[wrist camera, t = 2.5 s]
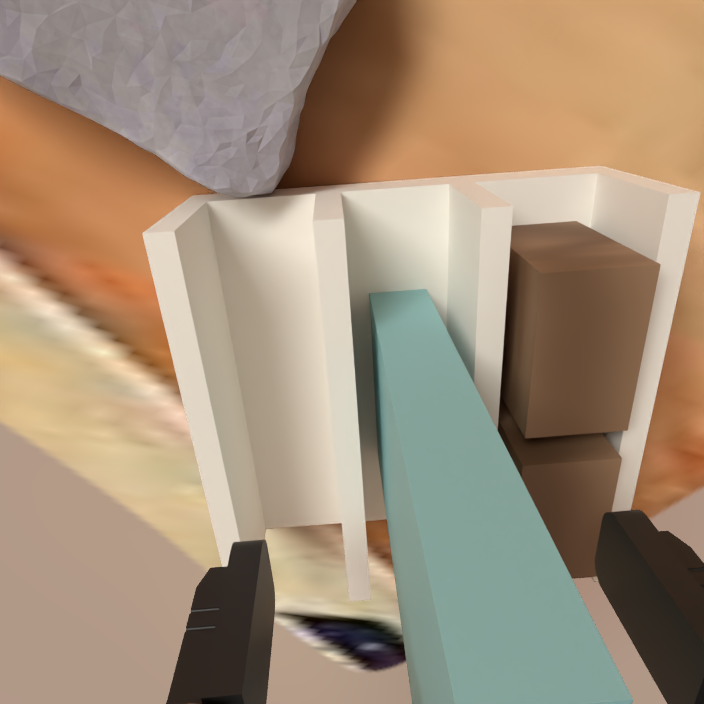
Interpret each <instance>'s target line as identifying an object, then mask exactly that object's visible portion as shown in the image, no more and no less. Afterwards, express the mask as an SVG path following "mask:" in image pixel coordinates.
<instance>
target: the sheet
mask: <svg viewBox="0 0 704 704" xmlns="http://www.w3.org/2000/svg"><path fill="white" fill-rule="evenodd" d="M369 297H370V316H371V335H372V354H373V373H374V392H375V411H376V430H377V449H378V460H379V467H380V474H381V482H382V489H383V496H384V503H385V510H386V518H387V525H388V532H389V539H390V546H391V553H392V561H393V568H394V575H395V582H396V589H397V597H398V604H399V611H400V618H401V625H402V633H403V640H404V647H405V654H406V661H407V668H408V676H409V683H410V689H411V697H412V704H632V702H633V699H632V697H631V695H630V693H629V691H628V689H627V687H626V685H625V683H624V681H623V679H622V677H621V675H620V673H619V671H618V669H617V667H616V665H615V663H614V661H613V659H612V657H611V655H610V653H609V651H608V649H607V647H606V645H605V643H604V641H603V639H602V637H601V635H600V633H599V631H598V629H597V627H596V625H595V623H594V621H593V619H592V617H591V616H590V613H589V611H588V610H587V607H586V605H585V603H584V601H583V599H582V597H581V596H580V593H579V591H578V590H577V588H576V585H575V584H574V582H573V580H572V578H571V576H570V574H569V572H568V570H567V568H566V566H565V564H564V562H563V560H562V558H561V556H560V554H559V552H558V550H557V548H556V546H555V544H554V542H553V540H552V538H551V536H550V534H549V532H548V530H547V528H546V526H545V524H544V522H543V520H542V518H541V516H540V514H539V512H538V510H537V508H536V506H535V504H534V502H533V500H532V498H531V496H530V494H529V492H528V490H527V488H526V486H525V484H524V482H523V480H522V478H521V476H520V474H519V472H518V470H517V468H516V466H515V464H514V462H513V460H512V458H511V456H510V454H509V452H508V450H507V448H506V446H505V444H504V442H503V440H502V439H501V437H500V435H499V433H498V431H497V429H496V427H495V425H494V423H493V421H492V419H491V417H490V415H489V413H488V411H487V409H486V407H485V405H484V403H483V401H482V399H481V397H480V395H479V393H478V391H477V389H476V387H475V385H474V383H473V381H472V379H471V377H470V375H469V373H468V371H467V369H466V367H465V365H464V363H463V361H462V359H461V357H460V355H459V353H458V351H457V349H456V347H455V345H454V343H453V341H452V339H451V337H450V335H449V333H448V331H447V329H446V327H445V325H444V323H443V321H442V319H441V317H440V315H439V313H438V311H437V309H436V307H435V305H434V303H433V301H432V299H431V298H430V296H429V294H428V292H427V290H426V289H419V290H405V291H392V292H379V293H369Z"/></svg>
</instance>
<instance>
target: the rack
mask: <svg viewBox="0 0 704 704" xmlns="http://www.w3.org/2000/svg"><path fill="white" fill-rule="evenodd" d="M699 197H700V192H698V191H694V190H691V189H687V188H683V187H679V186H676V185H672V184H668V183H664V182H661V181H657V180H653V179H649V178H646V177H642V176H638V175H634V174H631V173H627V172H623V171H619V170H615V169H612V168H608V167H604V166H587V167H574V168H560V169H547V170H533V171H519V172H506V173H492V174H478V175H465V176H451V177H437V178H424V179H410V180H396V181H383V182H369V183H356V184H342V185H328V186H315V187H301V188H287V189H274V191H273V192H272V193H267V194H261V195H251V196H247V197H237V198H236V197H232V196H228V195H224V194H220V193H219V194H205V195H192V196H191V197H190V198H188V199H187V200H186V201H184V202H183V203H182V204H180V205H179V206H178V207H176V208H175V209H174V210H172V211H171V212H170V213H168V214H167V215H166V216H165V217H163V218H162V219H161V220H159V221H158V222H157V223H155V224H154V225H153V226H151V227H150V228H149V229H147V230H146V231H145V232H143V233H142V234H143V238H144V243H145V247H146V251H147V255H148V259H149V263H150V268H151V272H152V276H153V280H154V284H155V288H156V293H157V297H158V301H159V305H160V309H161V313H162V318H163V322H164V326H165V330H166V334H167V338H168V342H169V347H170V351H171V355H172V359H173V363H174V367H175V372H176V376H177V380H178V384H179V388H180V392H181V397H182V401H183V405H184V409H185V413H186V417H187V422H188V426H189V430H190V434H191V438H192V442H193V447H194V451H195V455H196V459H197V463H198V467H199V472H200V476H201V480H202V484H203V488H204V492H205V497H206V501H207V505H208V509H209V513H210V517H211V522H212V526H213V530H214V534H215V538H216V542H217V547H218V551H219V555H220V559H221V563H222V567H227V566H228V561H229V556H230V551H231V547H232V544H233V542H241V541H253V540H264V539H265V532H266V529H273V528H285V527H298V526H311V525H323V524H336V523H342V531H343V542H344V552H345V562H346V573H347V583H348V593H349V602H350V601H363V600H371V594H370V580H369V566H368V552H367V538H366V523H365V521H374V520H386V519H387V518H386V510H385V503H384V496H383V489H382V482H381V474H380V467H379V460H378V449H377V430H376V411H375V392H374V373H373V354H372V335H371V316H370V297H369V293H379V292H392V291H405V290H419V289H426V290H427V292H428V294H429V296H430V298H431V299H432V301H433V303H434V305H435V307H436V309H437V311H438V313H439V315H440V317H441V319H442V321H443V323H444V325H445V327H446V329H447V331H448V333H449V335H450V337H451V339H452V341H453V343H454V345H455V347H456V349H457V351H458V353H459V355H460V357H461V359H462V361H463V363H464V365H465V367H466V369H467V371H468V373H469V375H470V377H471V379H472V381H473V383H474V385H475V387H476V389H477V391H478V393H479V395H480V397H481V399H482V401H483V403H484V405H485V407H486V409H487V411H488V413H489V415H490V417H491V419H492V421H493V423H494V425H495V427H496V429H497V431H498V418H499V403H500V389H501V374H502V360H503V345H504V331H505V316H506V301H507V287H508V272H509V258H510V243H511V229H512V226H515V225H529V224H542V223H556V222H569V221H577V222H579V223H581V224H583V225H585V226H587V227H589V228H591V229H593V230H595V231H597V232H599V233H601V234H603V235H605V236H607V237H608V238H610V239H612V240H614V241H616V242H618V243H620V244H622V245H624V246H626V247H628V248H630V249H632V250H634V251H636V252H638V253H640V254H641V255H643V256H645V257H647V258H649V259H651V260H653V261H655V262H657V263H659V264H661V266H660V271H659V276H658V281H657V286H656V291H655V296H654V301H653V306H652V311H651V316H650V321H649V326H648V331H647V336H646V341H645V346H644V351H643V356H642V361H641V366H640V371H639V376H638V381H637V386H636V391H635V396H634V401H633V406H632V411H631V416H630V421H629V426H628V431H615V432H602V434H603V435H604V436H605V438H606V439H607V440H608V441H609V442H610V444H611V445H612V446H613V447H614V449H615V450H616V451H617V452H618V454H619V455H620V456H621V457H622V462H621V467H620V472H619V477H618V482H617V487H616V492H615V497H614V502H613V507H612V512H617V511H629V510H631V507H632V502H633V498H634V493H635V488H636V484H637V479H638V475H639V470H640V466H641V461H642V457H643V452H644V447H645V443H646V438H647V434H648V429H649V425H650V420H651V416H652V411H653V406H654V402H655V397H656V393H657V388H658V384H659V379H660V375H661V370H662V365H663V361H664V356H665V352H666V347H667V343H668V338H669V334H670V329H671V325H672V320H673V315H674V311H675V306H676V302H677V297H678V293H679V288H680V284H681V279H682V274H683V270H684V265H685V261H686V256H687V252H688V247H689V243H690V238H691V233H692V229H693V224H694V220H695V215H696V211H697V206H698V202H699ZM592 579H593V580H594V582H599V581H598V578H597V577H592Z"/></svg>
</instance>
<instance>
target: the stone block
mask: <svg viewBox="0 0 704 704" xmlns="http://www.w3.org/2000/svg"><path fill="white" fill-rule="evenodd" d="M356 1H357V0H0V76H2V77H4V78H6V79H8V80H10V81H12V82H14V83H16V84H18V85H20V86H22V87H24V88H26V89H28V90H30V91H32V92H34V93H36V94H38V95H40V96H42V97H44V98H46V99H48V100H51V101H53V102H55V103H57V104H59V105H61V106H64V107H66V108H68V109H70V110H72V111H74V112H76V113H79V114H81V115H83V116H85V117H87V118H89V119H91V120H93V121H95V122H97V123H99V124H101V125H102V126H104V127H106V128H108V129H110V130H112V131H114V132H116V133H118V134H119V135H121V136H123V137H125V138H127V139H128V140H130V141H131V142H133V143H134V144H136V145H137V146H139V147H141V148H143V149H145V150H147V151H149V152H151V153H153V154H155V155H157V156H158V157H159V158H161V159H162V160H164V161H165V162H166V163H168V164H169V165H170V166H172V167H173V168H175V169H176V170H177V171H179V172H180V173H182V174H183V175H184V176H186V177H187V178H189V179H191V180H194V181H196V182H198V183H200V184H201V185H203V186H205V187H206V188H208V189H211V190H213V191H215V192H217V193H220V194H224V195H228V196H232V197H236V198H237V197H247V196H251V195H261V194H267V193H272V192H273V191H274V189H275V188H276V186H277V185H278V184H279V182H280V180H281V178H282V177H283V175H284V173H285V172H286V170H287V169H288V168H289V166H290V163H291V160H292V157H293V154H294V152H295V144H296V135H297V131H298V127H299V120H300V114H301V111H302V109H303V107H304V104H305V98H306V93H307V89H308V87H309V85H310V83H311V81H312V78H313V76H314V74H315V72H316V70H317V68H318V67H319V65H320V62H321V60H322V57H323V55H324V52H325V50H326V48H327V45H328V43H329V40H330V39H331V38H332V37H333V35H334V34H335V33H336V32H337V31H338V29H339V28H340V26H341V24H342V22H343V21H344V19H345V18H346V16H347V15H348V13H349V12H350V10H351V9H352V7H353V6H354V4H355V3H356Z"/></svg>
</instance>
